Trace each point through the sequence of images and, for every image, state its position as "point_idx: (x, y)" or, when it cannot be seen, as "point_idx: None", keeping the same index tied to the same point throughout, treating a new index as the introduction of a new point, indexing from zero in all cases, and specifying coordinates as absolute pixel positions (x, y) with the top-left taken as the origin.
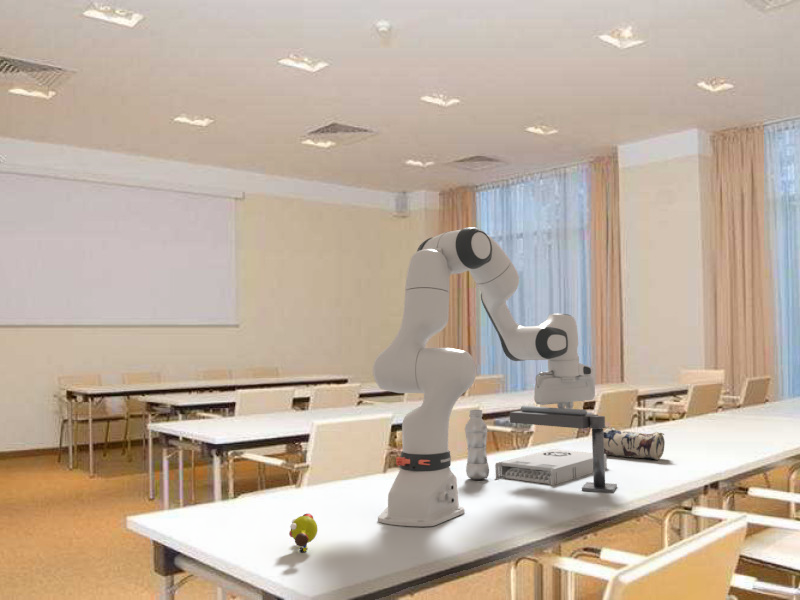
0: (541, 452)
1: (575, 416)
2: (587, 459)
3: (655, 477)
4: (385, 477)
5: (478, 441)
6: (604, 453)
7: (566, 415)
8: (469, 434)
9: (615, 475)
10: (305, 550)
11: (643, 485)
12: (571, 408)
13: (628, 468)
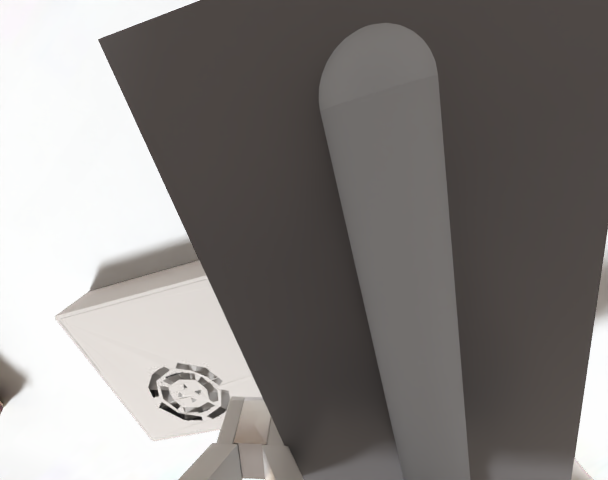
0: (213, 426)
1: (571, 89)
2: (164, 287)
3: (20, 97)
4: (593, 475)
5: (579, 467)
6: (1, 403)
7: (515, 275)
8: None
9: (126, 202)
10: None
11: (139, 6)
12: (193, 477)
13: (31, 255)
